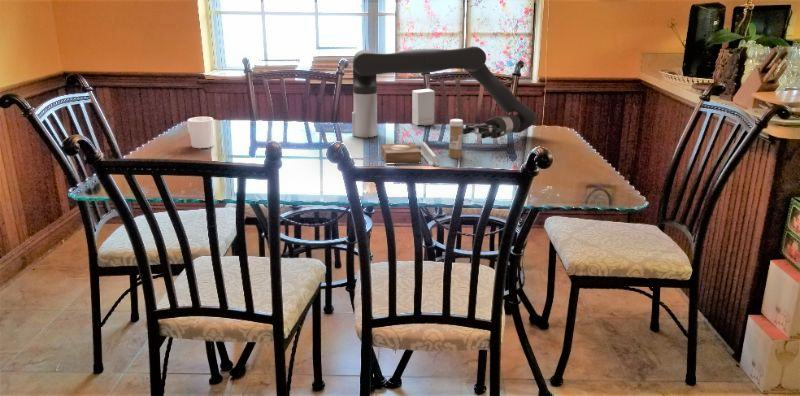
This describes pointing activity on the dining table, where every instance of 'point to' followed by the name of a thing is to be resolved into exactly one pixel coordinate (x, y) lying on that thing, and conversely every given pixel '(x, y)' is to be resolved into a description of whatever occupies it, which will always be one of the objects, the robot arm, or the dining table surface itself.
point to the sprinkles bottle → (455, 138)
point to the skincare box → (423, 107)
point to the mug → (201, 132)
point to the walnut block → (401, 153)
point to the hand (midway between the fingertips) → (472, 133)
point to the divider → (428, 154)
